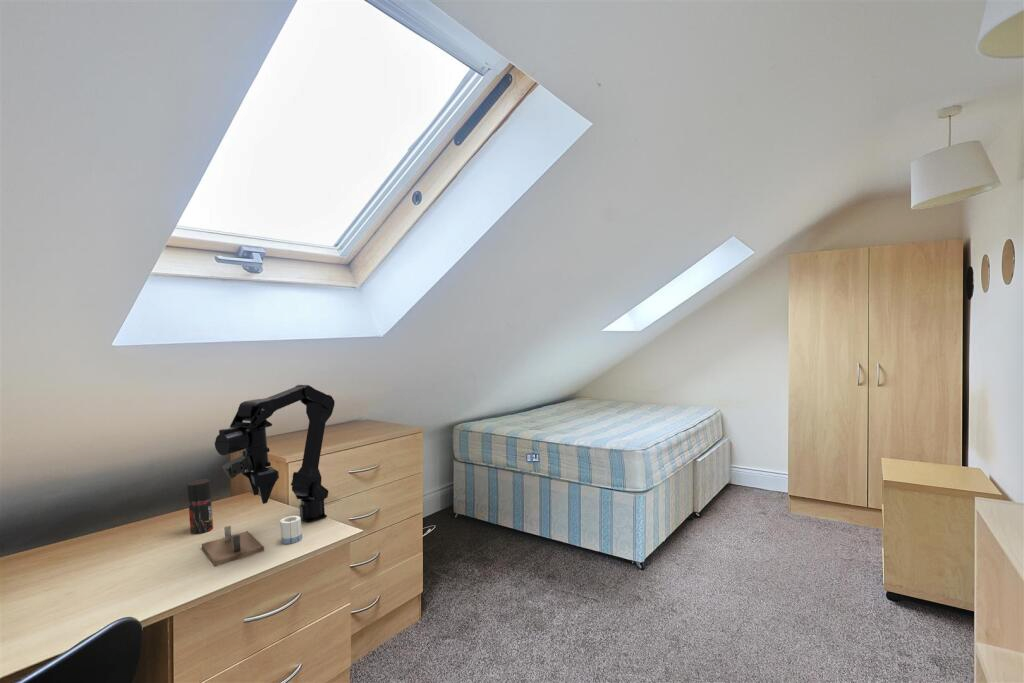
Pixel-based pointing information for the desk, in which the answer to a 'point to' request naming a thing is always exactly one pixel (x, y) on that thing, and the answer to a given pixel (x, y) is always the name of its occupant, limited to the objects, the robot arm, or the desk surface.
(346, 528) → the desk surface
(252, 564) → the desk surface
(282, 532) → the sleeve
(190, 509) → the deodorant
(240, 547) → the pin board
